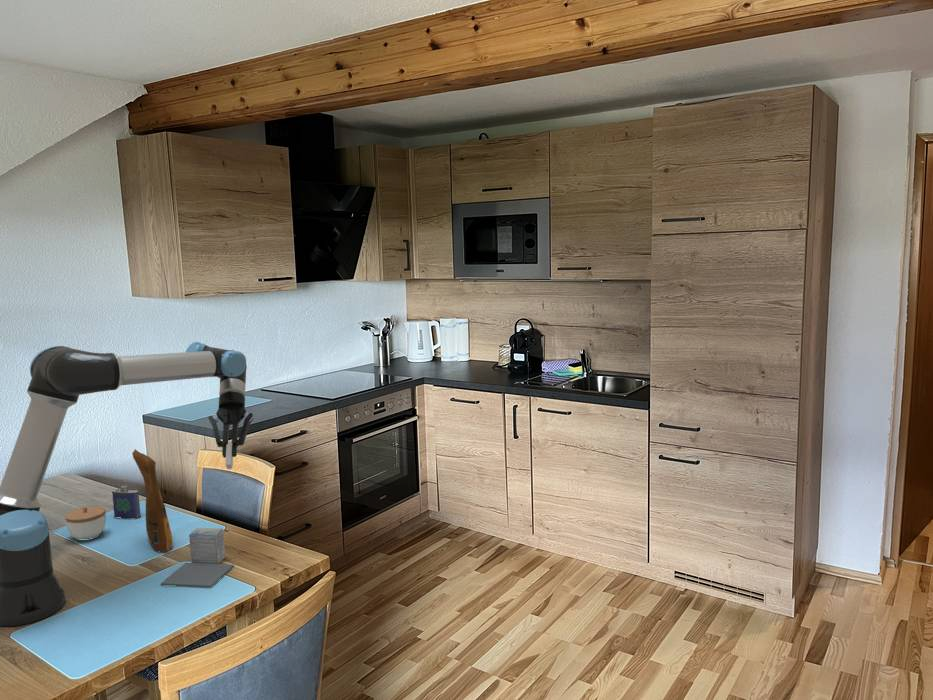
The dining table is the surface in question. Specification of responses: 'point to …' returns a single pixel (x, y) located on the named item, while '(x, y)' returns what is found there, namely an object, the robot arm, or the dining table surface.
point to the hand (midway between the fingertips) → (228, 466)
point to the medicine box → (207, 545)
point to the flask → (126, 503)
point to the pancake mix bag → (154, 505)
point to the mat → (197, 574)
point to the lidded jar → (86, 522)
